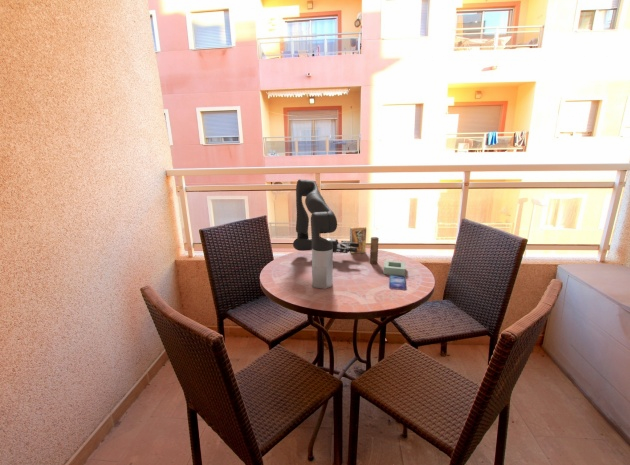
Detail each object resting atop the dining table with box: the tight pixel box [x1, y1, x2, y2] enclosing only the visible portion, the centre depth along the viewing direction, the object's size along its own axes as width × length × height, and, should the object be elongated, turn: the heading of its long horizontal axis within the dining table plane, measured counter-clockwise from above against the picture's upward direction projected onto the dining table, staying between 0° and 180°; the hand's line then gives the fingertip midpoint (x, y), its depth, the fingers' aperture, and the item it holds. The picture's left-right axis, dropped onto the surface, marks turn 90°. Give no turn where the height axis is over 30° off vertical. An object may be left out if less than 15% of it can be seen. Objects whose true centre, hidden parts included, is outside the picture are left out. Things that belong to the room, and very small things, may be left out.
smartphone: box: [388, 274, 407, 291], centre depth 134 cm, size 7×1×15 cm
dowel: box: [369, 236, 380, 265], centre depth 156 cm, size 4×4×14 cm
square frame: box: [383, 260, 406, 277], centre depth 146 cm, size 10×10×4 cm
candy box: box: [349, 226, 367, 254], centre depth 174 cm, size 9×4×15 cm, turn 103°
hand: (357, 247), depth 158 cm, fingers open, 8 cm apart
